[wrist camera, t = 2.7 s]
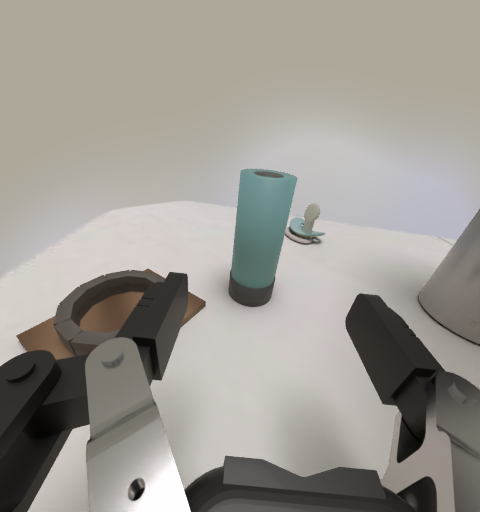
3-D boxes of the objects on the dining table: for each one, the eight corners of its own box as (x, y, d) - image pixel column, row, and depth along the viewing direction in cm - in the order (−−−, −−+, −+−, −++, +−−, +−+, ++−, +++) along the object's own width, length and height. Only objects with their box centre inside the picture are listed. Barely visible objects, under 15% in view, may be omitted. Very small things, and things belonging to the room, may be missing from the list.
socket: (148, 272, 26) (145, 254, 24) (205, 305, 22) (205, 286, 21) (19, 340, 17) (3, 318, 16) (77, 416, 13) (64, 394, 12)
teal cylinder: (243, 273, 28) (257, 167, 21) (278, 289, 26) (306, 176, 19) (220, 293, 24) (227, 171, 17) (258, 313, 22) (284, 184, 15)
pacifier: (299, 248, 36) (326, 244, 38) (308, 213, 32) (337, 210, 35) (276, 230, 41) (301, 227, 43) (282, 198, 38) (309, 197, 40)
